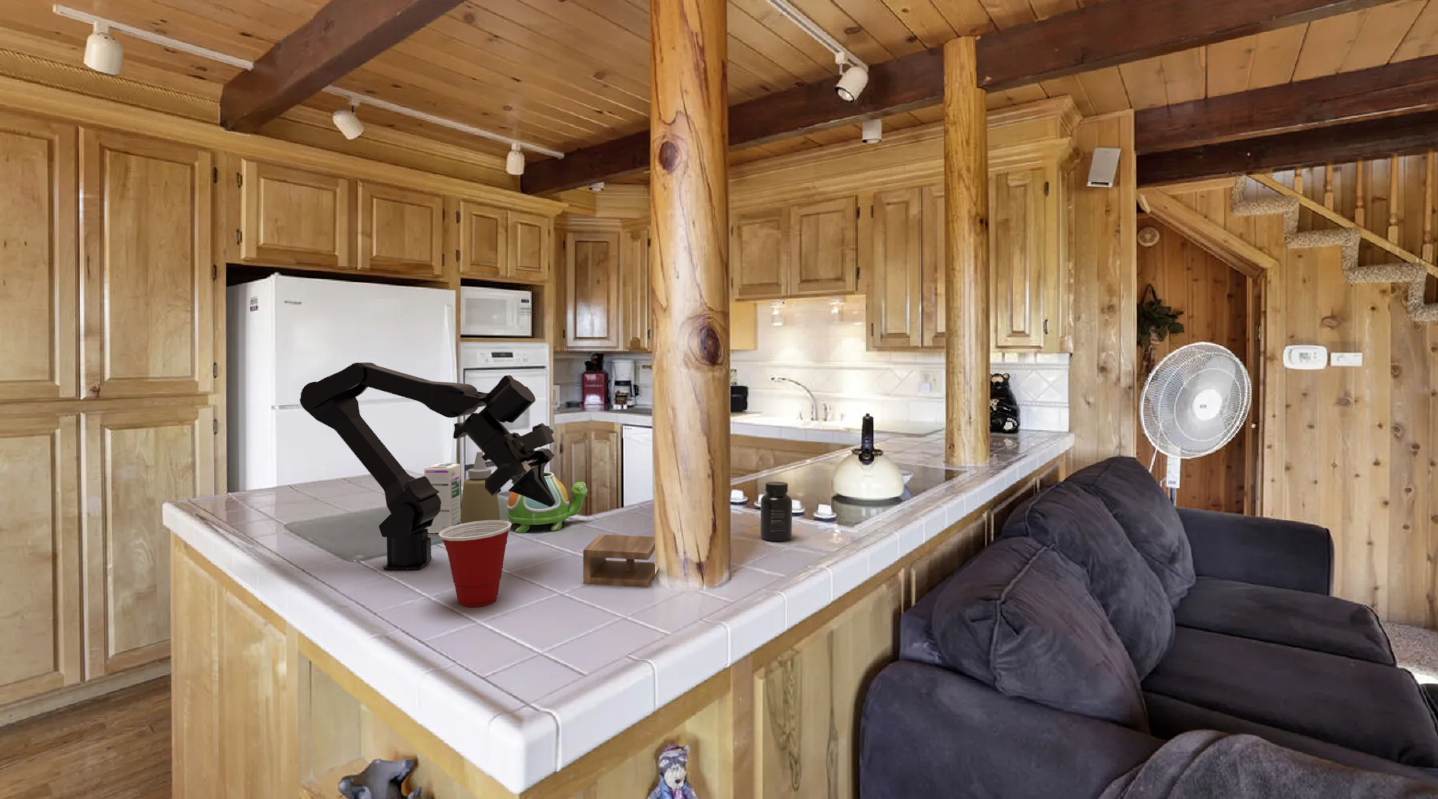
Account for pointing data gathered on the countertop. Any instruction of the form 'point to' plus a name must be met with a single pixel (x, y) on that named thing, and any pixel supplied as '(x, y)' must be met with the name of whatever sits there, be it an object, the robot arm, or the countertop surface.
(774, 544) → the countertop surface
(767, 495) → the supplement bottle
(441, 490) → the syrup box
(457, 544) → the plastic cup
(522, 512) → the turtle holder
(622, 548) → the wooden napkin holder
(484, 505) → the squeeze bottle
